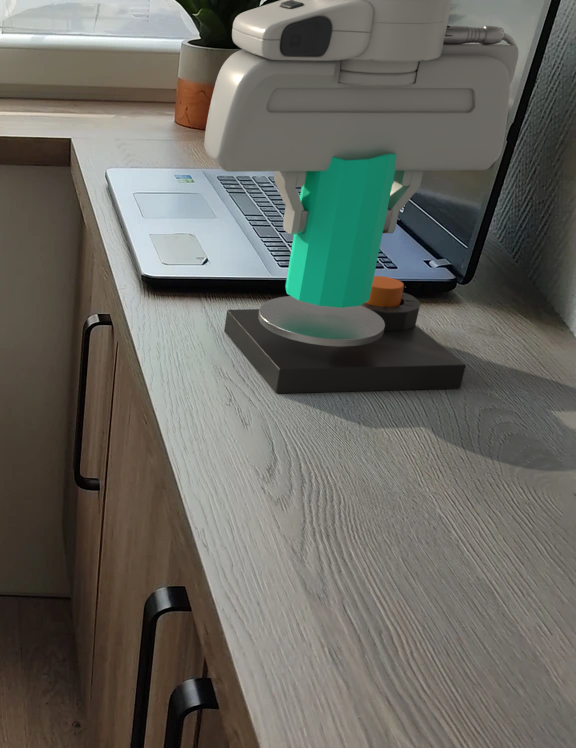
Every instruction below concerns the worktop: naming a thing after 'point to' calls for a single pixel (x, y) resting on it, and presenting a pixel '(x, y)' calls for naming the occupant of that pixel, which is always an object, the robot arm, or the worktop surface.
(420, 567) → the worktop surface
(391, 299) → the tare button
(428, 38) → the robot arm
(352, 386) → the scale
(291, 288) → the candle
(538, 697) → the worktop surface
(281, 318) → the weighing pan
